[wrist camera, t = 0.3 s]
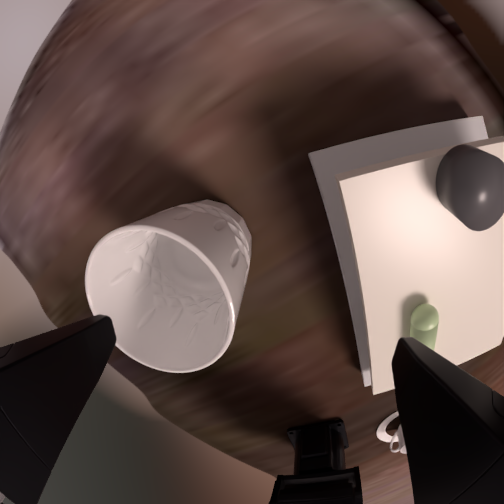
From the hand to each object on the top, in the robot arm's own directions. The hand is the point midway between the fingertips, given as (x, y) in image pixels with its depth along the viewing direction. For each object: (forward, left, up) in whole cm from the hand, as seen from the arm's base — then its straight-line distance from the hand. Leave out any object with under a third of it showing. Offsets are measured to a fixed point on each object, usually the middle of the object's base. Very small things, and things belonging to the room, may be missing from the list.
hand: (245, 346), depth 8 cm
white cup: (0, +5, -14) cm, 15 cm away
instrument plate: (-6, -11, -9) cm, 15 cm away
